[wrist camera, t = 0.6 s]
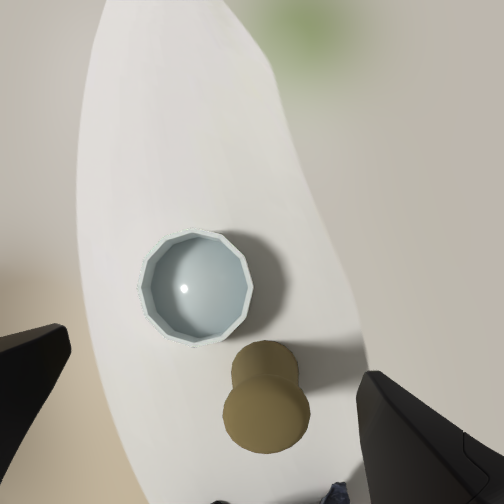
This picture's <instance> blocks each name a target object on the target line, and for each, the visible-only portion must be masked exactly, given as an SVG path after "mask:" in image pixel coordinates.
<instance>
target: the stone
mask: <svg viewBox="0 0 504 504" xmlns="http://www.w3.org/2000/svg"><path fill="white" fill-rule="evenodd" d="M320 504H350V499H349V496H348V493H347V488H346V483H345V482H341V483H339V482H336V483H334V484H332V486H331V488H330V491H329V493H328V494H327V495H326V497H324V498H322V500H321V503H320Z"/></svg>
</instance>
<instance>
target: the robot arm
mask: <svg viewBox="0 0 504 504" xmlns="http://www.w3.org/2000/svg"><path fill="white" fill-rule="evenodd" d="M70 354H71V344H70V340H69V335H68V331H67V329H66V327H65V326H63V325H60V324H56V323H54V324H50V325H46V326H43V327H39V328H35V329H31V330H27V331H23V332H19V333H15V334H11V335H7V336H4V337H0V484H1V482H2V479H3V477H4V475H5V473H6V471H7V469H8V467H9V465H10V463H11V461H12V459H13V457H14V455H15V454H16V452H17V450H18V448H19V446H20V444H21V442H22V440H23V439H24V437H25V435H26V433H27V431H28V430H29V428H30V426H31V425H32V423H33V421H34V419H35V418H36V416H37V414H38V413H39V411H40V409H41V408H42V406H43V404H44V403H45V401H46V400H47V398H48V396H49V395H50V393H51V391H52V390H53V388H54V386H55V384H56V382H57V380H58V378H59V376H60V374H61V372H62V370H63V368H64V366H65V364H66V362H67V360H68V359H69V357H70ZM356 403H357V413H358V424H359V436H360V444H361V450H362V455H363V460H364V465H365V470H366V476H367V481H368V487H369V492H370V498H371V504H504V456H502V455H501V454H499V453H497V452H495V451H493V450H492V449H490V448H488V447H487V446H485V445H483V444H482V443H480V442H479V441H477V440H476V439H474V438H473V437H471V436H470V435H469V434H467V433H466V432H463V430H461V429H460V428H459V427H457V426H456V425H454V424H453V423H451V422H450V421H449V420H447V419H446V418H444V417H443V416H441V415H440V414H439V413H437V412H436V411H434V410H433V409H432V408H430V407H429V406H427V405H426V404H425V403H423V402H422V401H421V400H419V399H418V398H416V397H415V396H414V395H412V394H411V393H409V392H408V391H407V390H405V389H404V388H403V387H401V386H400V385H398V384H397V383H396V382H394V381H393V380H391V379H390V378H389V377H387V376H386V375H384V374H383V373H382V372H381V371H366V372H365V373H364V375H363V378H362V381H361V383H360V386H359V388H358V391H357V395H356ZM211 504H222V503H221V502H218V501H215V502H213V503H211Z"/></svg>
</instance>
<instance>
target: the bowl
mask: <svg viewBox="0 0 504 504" xmlns="http://www.w3.org/2000/svg"><path fill="white" fill-rule="evenodd" d="M137 287H138V288H137V291H138V295H139V299H140V303H141V306H142V310H143V314H144V316H145V318H146V319H147V320H148V321H149V322H150V323H151V325H152V326H153V327H154V328H155V329H156V330H157V331H158V332H159V333H160V334H161V335H162V336H163V337H164V338H166V339H167V340H170V341H173V342H176V343H180V344H183V345H186V346H190V347H193V348H195V347H200V346H204V345H208V344H212V343H216V342H220V341H223V340H225V339H226V338H227V337H228V336H229V335H230V334H231V333H232V332H233V331H234V330H235V329H236V328H237V327H238V326H239V325H240V324H241V323H242V322H243V321H244V320H245V318H246V316H247V314H248V310H249V306H250V302H251V298H252V294H253V290H254V284H253V281H252V277H251V274H250V271H249V267H248V264H247V260H246V258H245V256H244V255H243V254H242V253H241V252H240V251H239V250H238V249H237V248H235V247H234V246H233V245H232V244H231V243H230V242H229V241H228V240H227V239H226V238H225V237H224V236H223V235H221V234H218V233H214V232H210V231H205V230H201V229H197V228H188V229H185V230H182V231H179V232H176V233H173V234H170V235H166V236H164V237H163V238H162V239H161V240H160V241H159V242H158V243H157V244H156V245H155V246H154V247H153V249H152V250H151V251H150V252H149V253H148V254H147V255H146V256H145V257H144V259H143V263H142V267H141V271H140V275H139V280H138V284H137Z"/></svg>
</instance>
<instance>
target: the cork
mask: <svg viewBox="0 0 504 504" xmlns="http://www.w3.org/2000/svg"><path fill="white" fill-rule="evenodd" d="M231 375H232V385H233V390H231V392H230V394H229V396H228V397H227V399H226V401H225V404H224V409H223V420H224V424H225V428H226V431H227V433H228V434H229V436H230V437H231V439H232V440H233V441H234V442H235V443H237V444H238V445H239V446H241V447H242V448H244V449H247V450H249V451H252V452H254V453H262V454H271V453H277V452H281V451H283V450H285V449H288V448H290V447H292V446H293V445H294V444H295V443H296V442H298V441H299V440H300V439H301V438H302V436H303V435H304V433H305V432H306V430H307V428H308V424H309V419H310V415H311V414H310V407H309V402H308V400H307V398H306V396H305V395H304V393H303V391H302V389H301V388H299V387H298V375H299V371H298V364H297V361H296V359H295V357H294V355H293V353H292V352H291V351H290V350H289V349H287V348H286V347H285V346H284V345H281V344H279V343H277V342H274V341H266V340H264V341H258V342H253V343H251V344H249V345H247V346H245V347H244V348H243V349H242V350H241V351H240V352H239V353H238V354H237V355H236V357H235V359H234V361H233V363H232V371H231Z"/></svg>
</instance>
